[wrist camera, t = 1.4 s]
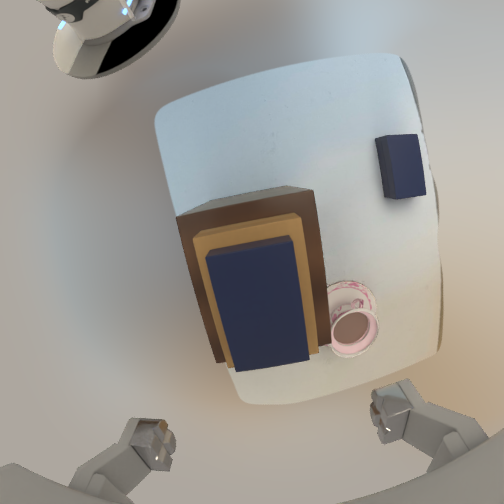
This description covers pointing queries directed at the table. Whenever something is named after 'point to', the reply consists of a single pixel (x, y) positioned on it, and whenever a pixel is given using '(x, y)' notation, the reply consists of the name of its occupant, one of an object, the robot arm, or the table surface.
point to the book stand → (248, 210)
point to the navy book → (260, 302)
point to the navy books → (401, 166)
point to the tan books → (250, 233)
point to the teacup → (351, 318)
